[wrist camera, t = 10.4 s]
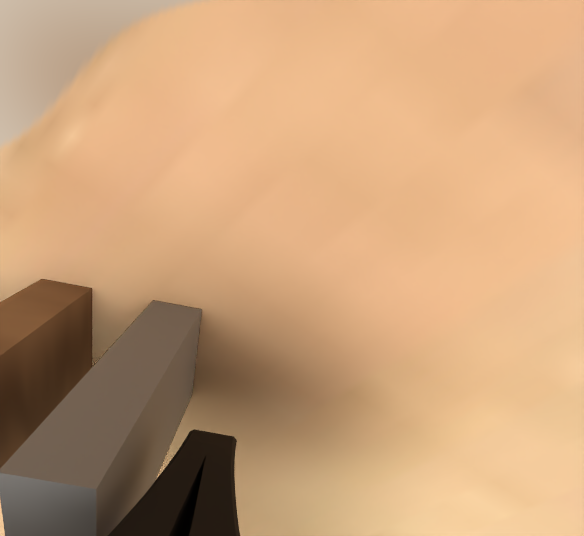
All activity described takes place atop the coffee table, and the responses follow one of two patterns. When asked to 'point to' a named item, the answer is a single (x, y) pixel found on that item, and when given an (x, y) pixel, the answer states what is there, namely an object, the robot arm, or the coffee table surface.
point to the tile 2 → (40, 355)
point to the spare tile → (105, 432)
